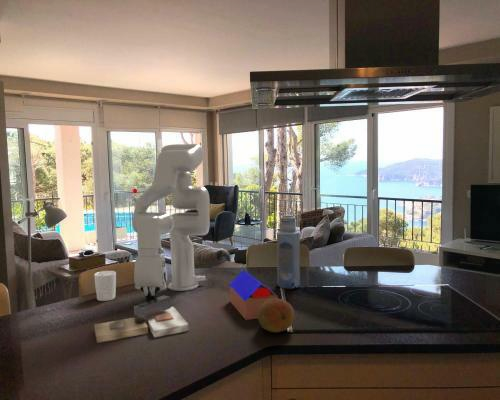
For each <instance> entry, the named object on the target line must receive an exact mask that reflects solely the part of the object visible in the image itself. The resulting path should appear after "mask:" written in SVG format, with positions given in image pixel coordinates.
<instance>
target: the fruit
mask: <svg viewBox="0 0 500 400" xmlns="http://www.w3.org/2000/svg"><path fill="white" fill-rule="evenodd" d="M294 319H295V311H294V307H293V306H292V305H291V303H290V302H288V301H286V300H284V299H282V298H275V299H270V300H268V301H266V302H265V303H263V304H262V306H261V307H260V309H259V313H258V318H257V320H258V324H259V325H260V326H261V327H262V329H264V330H266V331H268V332H270V333H282V332H284V331H286V330H288V329H289V328H290V327H291V326H292V324H293V323H294Z"/></svg>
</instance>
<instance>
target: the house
mask: <svg viewBox="0 0 500 400" xmlns="http://www.w3.org/2000/svg"><path fill="white" fill-rule="evenodd" d="M228 286H229V300H230V301H229V302H230V303H231V304H232V306H234V308H235V309H236V310H237V312H238V313H239V314H240V315H241V316H242V317H243V318H244V320H246V321H248V320H253V319H254V320H256V319H258V313H259V309H260V307H261V306H262V304H263V303H265V302H266V301H268V300H270V299H275V298H278V297H279V295H278V294H276V293H275V292H273V291H272V290H271V289H270V288H268V287H267V286H266V285H265V284H263V283H262V282H261V281H259V280H258V279H256V278H255V277H254V276H253V275H251V274H250V273H248V271H246V270H245V269H243V270H242V271H241V272H240V273H238V275H237V276H236V277H235V278H234V279H233V280H232V281H231V282H230V283H228ZM247 299H248V300H247ZM278 299H279V298H278Z"/></svg>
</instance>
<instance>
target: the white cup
mask: <svg viewBox="0 0 500 400" xmlns="http://www.w3.org/2000/svg"><path fill="white" fill-rule="evenodd" d="M116 278H117V272H116V271H114V270H102V271H98V272H95V273H94V286H95V292H96V300H97V301H99V302H100V301H101V302H106V301H108V302H109V301H112V300H114V299H115V298H116V290H117V289H116V287H117V279H116Z"/></svg>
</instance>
